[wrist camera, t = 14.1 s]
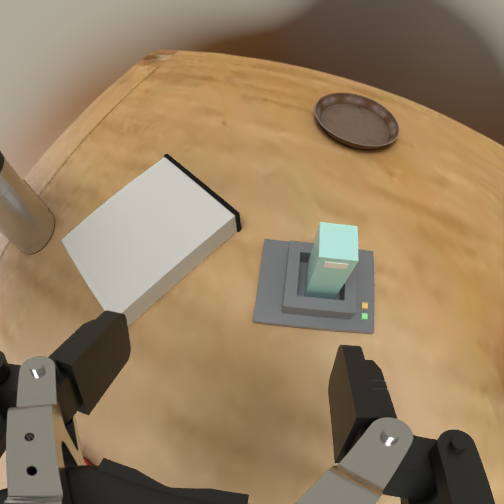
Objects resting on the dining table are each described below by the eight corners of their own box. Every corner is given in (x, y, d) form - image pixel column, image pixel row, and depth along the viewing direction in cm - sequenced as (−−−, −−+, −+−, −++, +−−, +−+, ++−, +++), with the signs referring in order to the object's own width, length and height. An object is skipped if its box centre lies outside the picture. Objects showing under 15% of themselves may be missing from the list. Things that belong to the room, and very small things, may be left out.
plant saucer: (349, 94, 63) (351, 84, 60) (409, 137, 56) (414, 127, 54) (294, 118, 58) (295, 107, 56) (360, 170, 52) (364, 159, 49)
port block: (253, 322, 40) (252, 314, 36) (264, 242, 45) (264, 227, 42) (371, 333, 39) (381, 326, 35) (371, 254, 44) (379, 241, 40)
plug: (303, 297, 40) (318, 257, 30) (305, 269, 42) (319, 221, 31) (333, 300, 40) (358, 261, 29) (334, 272, 42) (357, 225, 31)
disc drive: (242, 230, 47) (239, 212, 43) (127, 331, 40) (112, 322, 36) (173, 172, 53) (167, 153, 49) (74, 253, 46) (59, 238, 42)
